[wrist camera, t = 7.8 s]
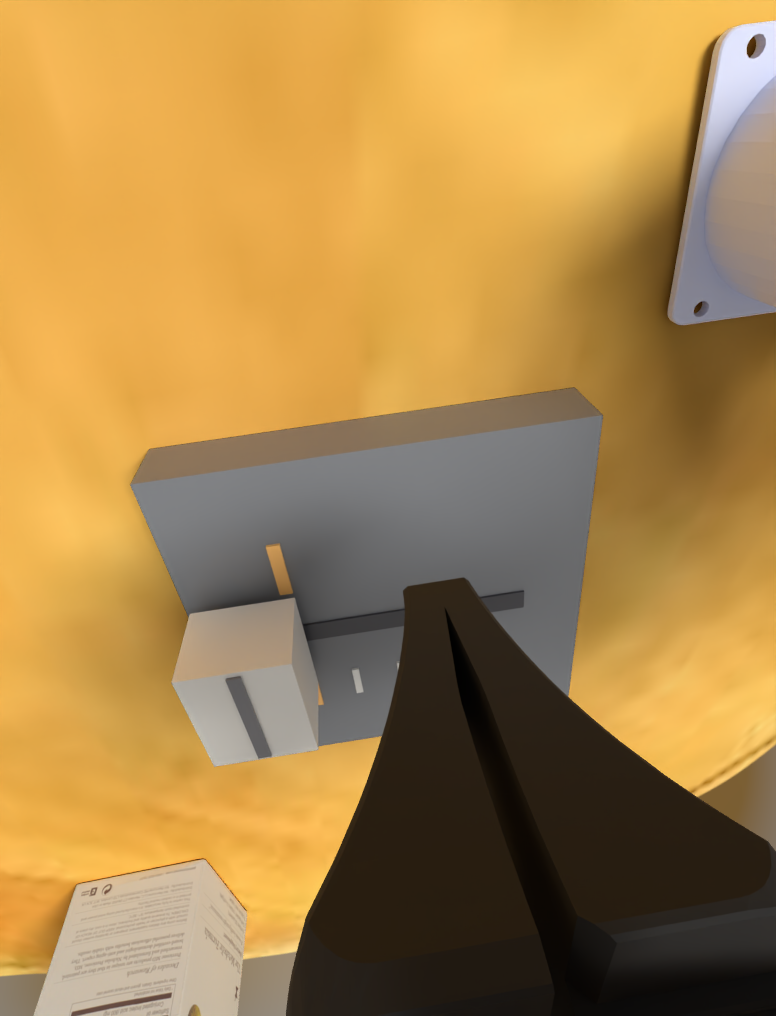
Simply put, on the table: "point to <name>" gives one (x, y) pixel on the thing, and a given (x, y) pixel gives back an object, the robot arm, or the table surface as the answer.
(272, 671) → the fader knob
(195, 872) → the supplement box
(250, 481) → the slide fader panel
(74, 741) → the table surface
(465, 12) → the table surface
